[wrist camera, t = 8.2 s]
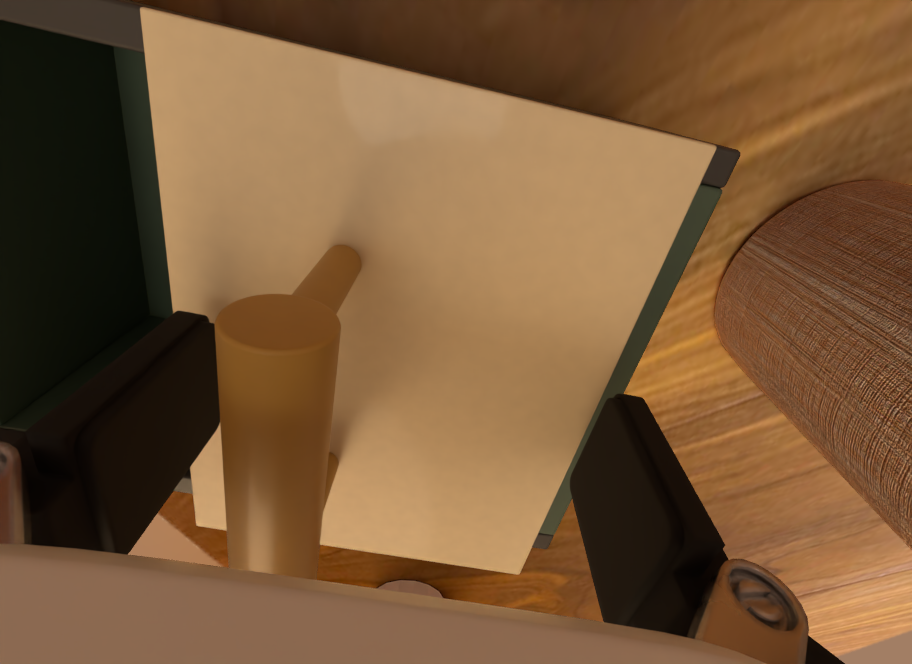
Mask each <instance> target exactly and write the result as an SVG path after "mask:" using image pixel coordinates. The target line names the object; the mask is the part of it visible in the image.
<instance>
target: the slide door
mask: <svg viewBox="0 0 912 664" xmlns="http://www.w3.org/2000/svg"><path fill="white" fill-rule="evenodd" d="M140 16H141V25H142V34H143V43H144V53H145V62H146V71H147V80H148V89H149V98H150V107H151V116H152V126H153V135H154V144H155V153H156V162H157V171H158V180H159V189H160V199H161V208H162V217H163V226H164V235H165V244H166V253H167V262H168V272H169V281H170V290H171V299H172V308H173V313H174V312H176V311H185V312H191V313H196V314H201V315H206V316H207V317H208V319H209V322H210V323H214V324H215V342H216V359H217V376H218V393H219V409H220V424H219V426H218V428H217V430H216V432H215V433H214V434H213V436H212V437H211V439H210V440H209V441H208V443H207V444H206V446H205V447H204V448H203V450H202V451H201V453H200V454H199V455H198V457H197V458H196V460H195V461H194V462H193V464H192V465H191V467H190V472H191V481H192V491H193V500H194V509H195V518H196V525H197V526H201V527H207V528H214V529H221V530H227V543H228V560H229V568H233V569H240V570H247V571H255V572H262V573H269V574H276V575H284V576H291V577H298V578H306V579H313V580H316V579H317V568H318V558H319V548H320V545H326V546H333V547H339V548H346V549H353V550H359V551H366V552H372V553H379V554H386V555H392V556H399V557H405V558H412V559H419V560H425V561H432V562H438V563H445V564H452V565H458V566H465V567H471V568H478V569H485V570H491V571H498V572H504V573H511V574H520V572H521V569H522V567H523V565H524V563H525V561H526V559H527V557H528V554H529V552H530V550H531V548H532V546H533V544H534V541H535V539H536V537H537V535H538V533H539V531H540V528H541V526H542V524H543V522H544V520H545V518H546V515H547V513H548V511H549V509H550V507H551V505H552V503H553V500H554V498H555V496H556V494H557V492H558V490H559V487H560V485H561V483H562V481H563V479H564V477H565V474H566V472H567V470H568V468H569V466H570V464H571V462H572V459H573V457H574V455H575V453H576V451H577V449H578V446H579V444H580V442H581V440H582V438H583V436H584V433H585V431H586V429H587V427H588V425H589V423H590V421H591V418H592V416H593V414H594V412H595V410H596V408H597V405H598V403H599V401H600V399H601V397H602V395H603V392H604V390H605V388H606V386H607V384H608V382H609V379H610V377H611V375H612V373H613V371H614V369H615V367H616V364H617V362H618V360H619V358H620V356H621V354H622V351H623V349H624V347H625V345H626V343H627V341H628V338H629V336H630V334H631V332H632V330H633V328H634V326H635V323H636V321H637V319H638V317H639V315H640V313H641V310H642V308H643V306H644V304H645V302H646V300H647V297H648V295H649V293H650V291H651V289H652V287H653V285H654V282H655V280H656V278H657V276H658V274H659V272H660V269H661V267H662V265H663V263H664V261H665V259H666V256H667V254H668V252H669V250H670V248H671V246H672V244H673V241H674V239H675V237H676V235H677V233H678V231H679V228H680V226H681V224H682V222H683V220H684V218H685V215H686V213H687V211H688V209H689V207H690V205H691V202H692V200H693V198H694V196H695V194H696V192H697V190H698V187H699V185H700V183H701V181H702V179H703V177H704V174H705V172H706V170H707V168H708V166H709V164H710V161H711V159H712V157H713V155H714V153H715V151H716V148H717V147H716V146H715V145H712V144H709V143H705V142H701V141H697V140H693V139H689V138H685V137H681V136H677V135H672V134H668V133H664V132H660V131H656V130H652V129H648V128H644V127H639V126H635V125H631V124H627V123H623V122H619V121H615V120H610V119H606V118H602V117H598V116H594V115H590V114H586V113H582V112H577V111H573V110H569V109H565V108H561V107H557V106H553V105H549V104H544V103H540V102H536V101H532V100H528V99H524V98H520V97H515V96H511V95H507V94H503V93H499V92H495V91H491V90H487V89H482V88H478V87H474V86H470V85H466V84H462V83H458V82H453V81H449V80H445V79H441V78H437V77H433V76H429V75H425V74H420V73H416V72H412V71H408V70H404V69H400V68H396V67H391V66H387V65H383V64H379V63H375V62H371V61H367V60H363V59H358V58H354V57H350V56H346V55H342V54H338V53H334V52H329V51H325V50H321V49H317V48H313V47H309V46H305V45H301V44H296V43H292V42H288V41H284V40H280V39H276V38H272V37H268V36H263V35H259V34H255V33H251V32H247V31H243V30H239V29H234V28H230V27H226V26H222V25H218V24H214V23H210V22H206V21H201V20H197V19H193V18H189V17H185V16H181V15H177V14H172V13H168V12H164V11H160V10H155V9H151V8H146V7H141V8H140Z"/></svg>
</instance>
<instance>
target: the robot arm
mask: <svg viewBox="0 0 912 664" xmlns="http://www.w3.org/2000/svg"><path fill="white" fill-rule="evenodd" d="M219 424H220V409H219V393H218V376H217V359H216V342H215V324H214V323H210V322H209V319H208V317H207V316H206V315H201V314H196V313H191V312H185V311H176V312H174V313H173V314H172V315H171V316H169V317H168V318H167V319H166V320H164V321H163V322H162V323H161V324H159V325H158V326H157V327H156V328H154V329H153V330H152V331H151V332H149V333H148V334H147V335H146V336H144V337H143V338H142V339H141V340H139V341H138V342H137V343H136V344H134V345H133V346H132V347H130V348H129V349H128V350H127V351H125V352H124V353H123V354H122V355H120V356H119V357H118V358H117V359H115V360H114V361H113V362H112V363H110V364H109V365H108V366H107V367H105V368H104V369H103V370H102V371H100V372H99V373H98V374H97V375H95V376H94V377H93V378H92V379H90V380H89V381H88V382H87V383H85V384H84V385H83V386H82V387H80V388H79V389H78V390H76V391H75V392H74V393H73V394H71V395H70V396H69V397H68V398H66V399H65V400H64V401H63V402H61V403H60V404H59V405H58V406H56V407H55V408H54V409H53V410H51V411H50V412H49V413H48V414H46V415H45V416H44V417H43V418H41V419H40V420H39V421H38V422H36V423H35V424H34V425H33V426H31V427H30V428H29V429H28V430H26V431H25V435H24V436H23V437H21V438H20V439H19V440H18V441H16V442H15V443H14V444H13V445H11V444H9V443H6V442H2V441H0V664H845V663H843V662H842V661H841V660H839V659H838V658H837V657H836V656H834V655H833V654H832V653H830V652H829V651H828V650H826V649H825V648H824V647H823V646H821V645H820V644H819V643H817V642H816V641H815V640H813V639H812V638H811V637H809V636H808V631H809V627H808V619H807V616H806V614H805V611H804V609H803V607H802V605H801V604H800V602H799V601H798V599H797V598H796V596H795V595H794V594H793V592H792V591H791V590H790V589H789V588H788V587H787V586H786V585H785V584H784V583H783V582H782V581H781V580H780V579H778V578H777V577H776V576H774V575H773V574H772V573H771V572H769V571H768V570H766V569H764V568H763V567H761V566H759V565H757V564H755V563H752V562H750V561H747V560H744V559H730V560H728V558H727V556H726V554H725V552H724V551H723V547H724V546H725V544H724V542H723V540H722V538H721V537H720V535H719V533H718V531H717V529H716V528H715V526H714V524H713V522H712V521H711V519H710V517H709V515H708V513H707V512H706V510H705V508H704V506H703V504H702V503H701V501H700V499H699V497H698V495H697V494H696V492H695V490H694V488H693V486H692V485H691V483H690V481H689V479H688V477H687V476H686V474H685V472H684V470H683V468H682V467H681V465H680V463H679V461H678V460H677V458H676V456H675V454H674V452H673V451H672V449H671V447H670V445H669V443H668V442H667V440H666V438H665V436H664V434H663V433H662V431H661V429H660V427H659V425H658V424H657V422H656V420H655V418H654V416H653V415H652V413H651V411H650V409H649V407H648V406H647V404H646V402H645V400H644V399H643V398H641V397H636V396H631V395H626V394H620V393H619V394H616V395H615V396H614V398H608V399H607V400H606V402H605V404H604V406H603V408H602V410H601V412H600V414H599V416H598V419H597V421H596V423H595V425H594V427H593V429H592V431H591V433H590V436H589V438H588V440H587V442H586V444H585V446H584V448H583V450H582V453H581V455H580V457H579V459H578V461H577V463H576V465H575V467H574V469H573V472H572V474H571V477H570V491H571V495H572V499H573V503H574V507H575V511H576V515H577V519H578V523H579V527H580V531H581V535H582V538H583V542H584V546H585V550H586V554H587V558H588V562H589V566H590V570H591V574H592V578H593V582H594V586H595V590H596V594H597V598H598V601H599V605H600V609H601V613H602V617H603V621H604V622H599V621H593V620H587V619H580V618H573V617H567V616H560V615H553V614H547V613H540V612H533V611H526V610H520V609H513V608H506V607H500V606H493V605H486V604H479V603H473V602H466V601H459V600H452V599H445V598H438V597H431V596H424V595H418V594H411V593H404V592H397V591H390V590H383V589H376V588H369V587H362V586H355V585H348V584H341V583H334V582H327V581H320V580H313V579H306V578H298V577H291V576H284V575H276V574H269V573H262V572H255V571H247V570H240V569H233V568H226V567H218V566H211V565H204V564H197V563H189V562H182V561H175V560H167V559H158V558H151V557H143V556H134V555H127V554H128V553H129V552H130V551H131V549H132V548H133V546H134V545H135V544H136V542H137V541H138V539H139V538H140V537H141V535H142V534H143V533H144V531H145V530H146V528H147V527H148V526H149V524H150V523H151V521H152V520H153V518H154V517H155V516H156V514H157V513H158V511H159V510H160V509H161V507H162V506H163V504H164V503H165V502H166V500H167V499H168V497H169V496H170V495H171V493H172V492H173V490H174V489H175V488H176V486H177V485H178V483H179V482H180V481H181V479H182V478H183V476H184V475H185V474H186V472H187V471H188V469H189V468H190V467H191V465H192V464H193V462H194V461H195V460H196V458H197V457H198V455H199V454H200V453H201V451H202V450H203V448H204V447H205V446H206V444H207V443H208V441H209V440H210V439H211V437H212V436H213V434H214V433H215V432H216V430H217V428H218V426H219Z"/></svg>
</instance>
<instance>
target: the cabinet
mask: <svg viewBox="0 0 912 664" xmlns="http://www.w3.org/2000/svg"><path fill="white" fill-rule="evenodd" d="M141 7H146V8H151V9H155V10H160V11H164V12H168V13H172V14H177V15H181V16H185V17H189V18H193V19H197V20H201V21H206V22H210V23H214V24H218V25H222V26H226V27H230V28H234V29H239V30H243V31H247V32H251V33H255V34H259V35H263V36H268V37H272V38H276V39H280V40H284V41H288V42H292V43H296V44H301V45H305V46H309V47H313V48H317V49H321V50H325V51H329V52H334V53H338V54H342V55H346V56H350V57H354V58H358V59H363V60H367V61H371V62H375V63H379V64H383V65H387V66H391V67H396V68H400V69H404V70H408V71H412V72H416V73H420V74H425V75H429V76H433V77H437V78H441V79H445V80H449V81H453V82H458V83H462V84H466V85H470V86H474V87H478V88H482V89H487V90H491V91H495V92H499V93H503V94H507V95H511V96H515V97H520V98H524V99H528V100H532V101H536V102H540V103H544V104H549V105H553V106H557V107H561V108H565V109H569V110H573V111H577V112H582V113H586V114H590V115H594V116H598V117H602V118H606V119H610V120H615V121H619V122H623V123H627V124H631V125H635V126H639V127H644V128H648V129H652V130H656V131H660V132H664V133H668V134H672V135H677V136H681V137H685V138H689V139H693V138H690V137H686V136H682V135H678V134H674V133H670V132H667V131H663V130H659V129H655V128H651V127H647V126H643V125H640V124H636V123H632V122H628V121H624V120H620V119H617V118H613V117H609V116H604V115H600V114H596V113H592V112H588V111H584V110H580V109H576V108H571V107H567V106H563V105H559V104H555V103H551V102H547V101H543V100H538V99H534V98H530V97H526V96H522V95H518V94H514V93H510V92H506V91H501V90H497V89H493V88H489V87H485V86H481V85H477V84H473V83H468V82H464V81H460V80H456V79H452V78H448V77H444V76H440V75H435V74H431V73H427V72H423V71H419V70H415V69H411V68H407V67H402V66H398V65H394V64H390V63H386V62H382V61H378V60H374V59H369V58H365V57H361V56H357V55H353V54H349V53H345V52H341V51H336V50H332V49H328V48H324V47H320V46H316V45H312V44H308V43H303V42H299V41H295V40H291V39H287V38H283V37H279V36H275V35H270V34H266V33H262V32H258V31H254V30H250V29H246V28H242V27H237V26H233V25H229V24H225V23H221V22H217V21H213V20H209V19H204V18H200V17H196V16H192V15H188V14H184V13H180V12H176V11H171V10H167V9H163V8H159V7H155V6H151V5H147V4H143V3H138V2H134V1H130V0H0V441H2V442H6V443H9V444H11V445H13V444H14V443H15V442H16V441H18V440H19V439H20V438H21V437H23V436H24V435H25V431H26V430H28V429H29V428H30V427H31V426H33V425H34V424H35V423H36V422H38V421H39V420H40V419H41V418H43V417H44V416H45V415H46V414H48V413H49V412H50V411H51V410H53V409H54V408H55V407H56V406H58V405H59V404H60V403H61V402H63V401H64V400H65V399H66V398H68V397H69V396H70V395H71V394H73V393H74V392H75V391H76V390H78V389H79V388H80V387H82V386H83V385H84V384H85V383H87V382H88V381H89V380H90V379H92V378H93V377H94V376H95V375H97V374H98V373H99V372H100V371H102V370H103V369H104V368H105V367H107V366H108V365H109V364H110V363H112V362H113V361H114V360H115V359H117V358H118V357H119V356H120V355H122V354H123V353H124V352H125V351H127V350H128V349H129V348H130V347H132V346H133V345H134V344H136V343H137V342H138V341H139V340H141V339H142V338H143V337H144V336H146V335H147V334H148V333H149V332H151V331H152V330H153V329H154V328H156V327H157V326H158V325H159V324H161V323H162V322H163V321H164V320H166V319H167V318H168V317H169V316H171V315H172V314H173V308H172V299H171V290H170V281H169V272H168V262H167V253H166V244H165V235H164V226H163V217H162V208H161V199H160V189H159V180H158V171H157V162H156V153H155V144H154V135H153V126H152V116H151V107H150V98H149V89H148V80H147V71H146V62H145V53H144V43H143V34H142V25H141V16H140V8H141ZM693 140H697V139H693ZM697 141H701V140H697ZM701 142H705V141H701ZM705 143H709V142H705ZM709 144H712V145H715V146H716V147H717V148H716V151H715V153H714V155H713V157H712V159H711V161H710V164H709V166H708V168H707V170H706V172H705V174H704V177H703V179H702V181H701V183H700V185H699V187H698V190H697V192H696V194H695V196H694V198H693V200H692V202H691V205H690V207H689V209H688V211H687V213H686V215H685V218H684V220H683V222H682V224H681V226H680V228H679V231H678V233H677V235H676V237H675V239H674V241H673V244H672V246H671V248H670V250H669V252H668V254H667V256H666V259H665V261H664V263H663V265H662V267H661V269H660V272H659V274H658V276H657V278H656V280H655V282H654V285H653V287H652V289H651V291H650V293H649V295H648V297H647V300H646V302H645V304H644V306H643V308H642V310H641V313H640V315H639V317H638V319H637V321H636V323H635V326H634V328H633V330H632V332H631V334H630V336H629V338H628V341H627V343H626V345H625V347H624V349H623V351H622V354H621V356H620V358H619V360H618V362H617V364H616V367H615V369H614V371H613V373H612V375H611V377H610V379H609V382H608V384H607V386H606V388H605V390H604V392H603V395H602V397H601V399H600V401H599V403H598V405H597V408H596V410H595V412H594V414H593V416H592V418H591V421H590V423H589V425H588V427H587V429H586V431H585V433H584V436H583V438H582V440H581V442H580V444H579V446H578V449H577V451H576V453H575V455H574V457H573V459H572V462H571V464H570V466H569V468H568V470H567V472H566V474H565V477H564V479H563V481H562V483H561V485H560V487H559V490H558V492H557V494H556V496H555V498H554V500H553V503H552V505H551V507H550V509H549V511H548V513H547V515H546V518H545V520H544V522H543V524H542V526H541V528H540V531H539V533H538V535H537V537H536V539H535V541H534V544H533V546H532V547H534V548H541V549H547V548H548V546H549V544H550V542H551V540H552V538H553V535H554V534H555V532H556V530H557V528H558V526H559V524H560V522H561V520H562V518H563V516H564V514H565V512H566V510H567V508H568V506H569V503H570V501H571V499H572V495H571V491H570V477H571V474H572V472H573V469H574V467H575V465H576V463H577V461H578V459H579V457H580V455H581V453H582V450H583V448H584V446H585V444H586V442H587V440H588V438H589V436H590V433H591V431H592V429H593V427H594V425H595V423H596V421H597V419H598V416H599V414H600V412H601V410H602V408H603V406H604V404H605V402H606V400H607V399H608V398H614V396H615V395H616V394H619V393H620V394H624V391H625V389H626V387H627V385H628V383H629V381H630V379H631V377H632V375H633V373H634V371H635V369H636V367H637V365H638V363H639V361H640V359H641V357H642V355H643V353H644V351H645V349H646V347H647V345H648V343H649V341H650V339H651V337H652V334H653V332H654V330H655V328H656V326H657V324H658V322H659V320H660V318H661V316H662V314H663V312H664V310H665V308H666V306H667V304H668V302H669V300H670V298H671V296H672V294H673V292H674V290H675V288H676V286H677V284H678V282H679V279H680V277H681V275H682V273H683V271H684V269H685V267H686V265H687V263H688V261H689V259H690V257H691V255H692V253H693V251H694V249H695V247H696V245H697V243H698V241H699V239H700V237H701V235H702V233H703V231H704V229H705V227H706V225H707V222H708V220H709V218H710V216H711V214H712V212H713V210H714V208H715V206H716V204H717V202H718V200H719V198H720V196H721V194H722V190H721V189H720V188H722V187H724V186H725V185H726V183H727V181H728V179H729V177H730V175H731V173H732V171H733V169H734V167H735V165H736V163H737V161H738V159H739V157H740V152H739V151H738V150H736V149H732V148H728V147H724V146H720V145H716V144H713V143H709ZM173 491H178V492H184V493H191V494H193V491H192V481H191V472H190V468H189V469H188V471H187V472H186V474H185V475H184V476H183V478H182V479H181V481H180V482H179V483H178V485H177V486H176V488H175V489H174V490H173Z"/></svg>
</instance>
